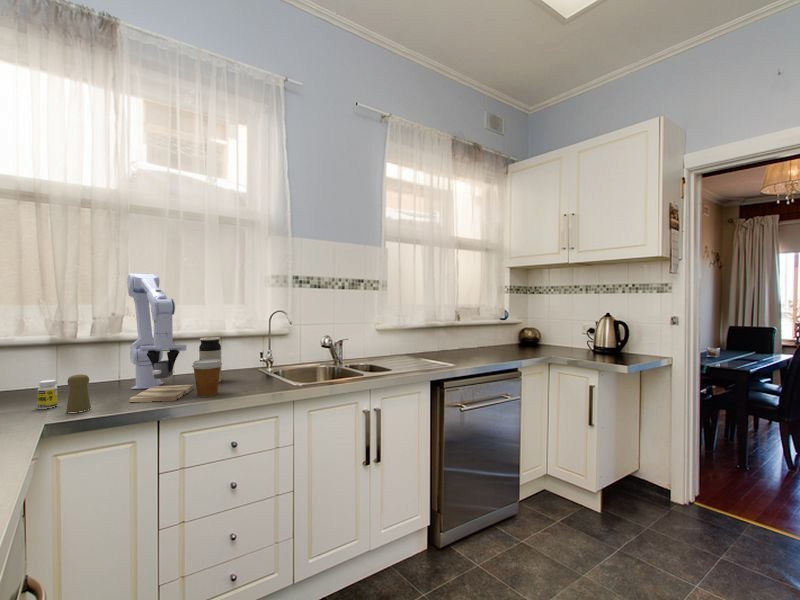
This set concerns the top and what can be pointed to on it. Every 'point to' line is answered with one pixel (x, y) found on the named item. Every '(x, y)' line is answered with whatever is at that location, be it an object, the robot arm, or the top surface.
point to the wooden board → (162, 393)
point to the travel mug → (210, 350)
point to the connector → (161, 370)
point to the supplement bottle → (47, 394)
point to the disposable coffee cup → (207, 376)
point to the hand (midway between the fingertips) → (163, 371)
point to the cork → (78, 393)
